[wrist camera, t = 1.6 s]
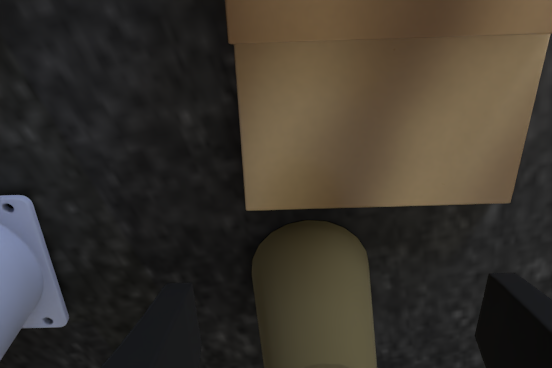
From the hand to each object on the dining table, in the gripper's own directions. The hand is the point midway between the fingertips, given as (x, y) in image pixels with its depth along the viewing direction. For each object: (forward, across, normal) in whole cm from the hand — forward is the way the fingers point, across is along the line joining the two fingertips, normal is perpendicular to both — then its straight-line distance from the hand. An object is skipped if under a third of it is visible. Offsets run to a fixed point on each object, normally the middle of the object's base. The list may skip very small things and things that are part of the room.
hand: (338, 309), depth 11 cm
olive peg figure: (+11, 0, +7) cm, 13 cm away
